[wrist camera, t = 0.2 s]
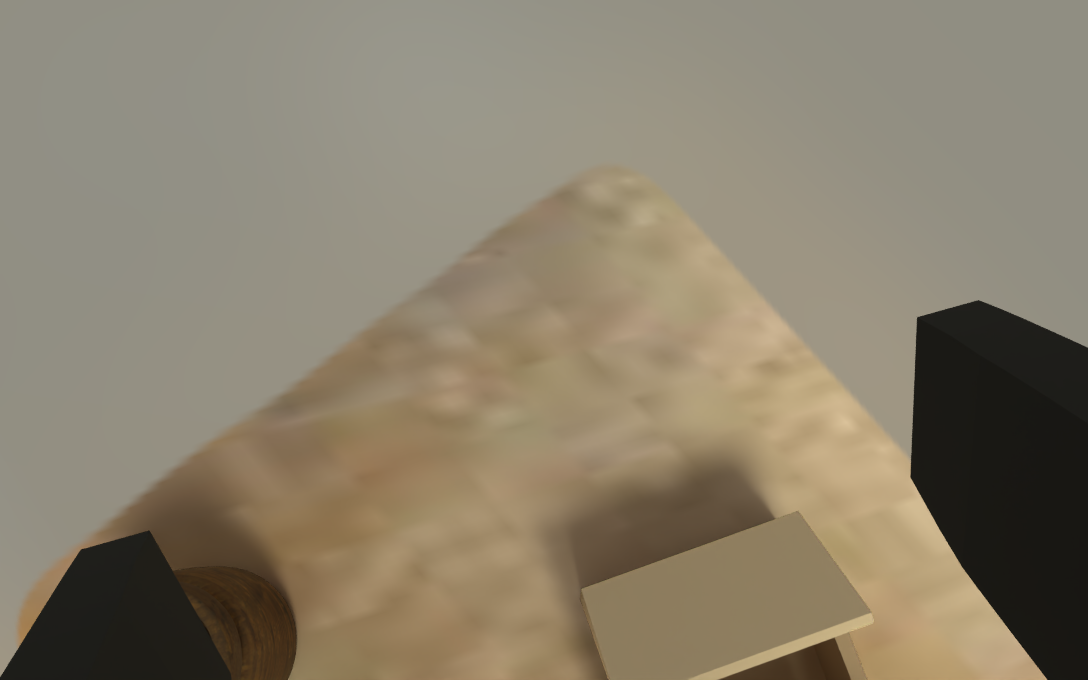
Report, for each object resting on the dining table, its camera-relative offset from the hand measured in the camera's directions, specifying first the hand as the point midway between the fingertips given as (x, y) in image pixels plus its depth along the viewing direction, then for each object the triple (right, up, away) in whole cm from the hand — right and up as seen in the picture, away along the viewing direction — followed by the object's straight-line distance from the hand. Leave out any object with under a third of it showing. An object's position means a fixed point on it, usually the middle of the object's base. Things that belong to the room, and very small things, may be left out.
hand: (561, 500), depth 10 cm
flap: (+5, -7, +22) cm, 24 cm away
